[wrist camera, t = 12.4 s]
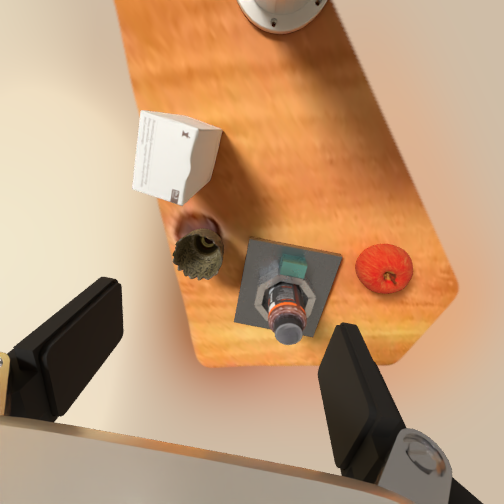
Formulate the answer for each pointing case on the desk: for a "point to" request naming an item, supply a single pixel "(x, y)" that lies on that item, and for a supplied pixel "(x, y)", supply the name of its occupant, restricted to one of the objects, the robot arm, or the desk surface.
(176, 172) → the skincare box
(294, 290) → the supplement bottle
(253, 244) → the hub plate
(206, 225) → the desk surface
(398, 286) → the apple
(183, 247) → the cup
